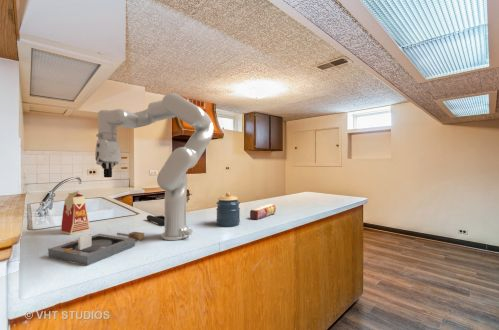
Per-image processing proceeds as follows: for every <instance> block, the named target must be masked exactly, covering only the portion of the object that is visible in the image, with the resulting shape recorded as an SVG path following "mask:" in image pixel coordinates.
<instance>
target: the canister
mask: <svg viewBox="0 0 499 330" xmlns="http://www.w3.org/2000/svg"><path fill="white" fill-rule="evenodd" d="M217 200H218V201H217V202H216V208H215V209H216V225H217V226H219V227H228V228H229V227H237V226H238V225H240V223H241V220H240V218H241V217H240V216H241V214H240V213H241V211H240V210H241V208H240V203H241V202H240V201H239V198H238V196H236V195H232V194H231V193H230V191H227V192H226V193H225V195H221V196H220V197H218V198H217Z"/></svg>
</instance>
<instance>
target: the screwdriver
mask: <svg viewBox="0 0 499 330" xmlns="http://www.w3.org/2000/svg"><path fill="white" fill-rule="evenodd" d="M116 236H124V237H125V236H126V237H128V238H132V239H135V241H138V242H140V241H143V240H145V232H139V231H132V232H128V233H121V232H117V233H116Z"/></svg>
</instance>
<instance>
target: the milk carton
mask: <svg viewBox="0 0 499 330" xmlns="http://www.w3.org/2000/svg"><path fill="white" fill-rule="evenodd" d="M61 217H62V218H61V227H60V228H61V230H60V233H62V234H67V235H69V236H71V235H75V234H80V233H84V232H88V231H91V226H90V221H89V216H88V211H87V205H86V200H85V195H83V194H80V193H79V190H77V191H74V192H71V193H68V195H67V197H66V198H65V199H64V204H63V210H62V215H61Z"/></svg>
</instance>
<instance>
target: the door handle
mask: <svg viewBox="0 0 499 330" xmlns="http://www.w3.org/2000/svg"><path fill="white" fill-rule="evenodd" d="M146 220H147V221H150V222H151V223H152V222H153V223H152V224H155V225H161V226H164V227H165V215H155V216H153V215H149V214H148V215H147V216H146Z"/></svg>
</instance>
